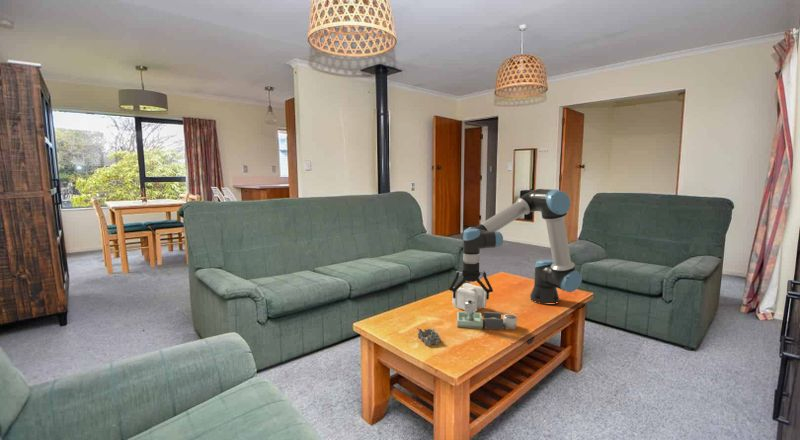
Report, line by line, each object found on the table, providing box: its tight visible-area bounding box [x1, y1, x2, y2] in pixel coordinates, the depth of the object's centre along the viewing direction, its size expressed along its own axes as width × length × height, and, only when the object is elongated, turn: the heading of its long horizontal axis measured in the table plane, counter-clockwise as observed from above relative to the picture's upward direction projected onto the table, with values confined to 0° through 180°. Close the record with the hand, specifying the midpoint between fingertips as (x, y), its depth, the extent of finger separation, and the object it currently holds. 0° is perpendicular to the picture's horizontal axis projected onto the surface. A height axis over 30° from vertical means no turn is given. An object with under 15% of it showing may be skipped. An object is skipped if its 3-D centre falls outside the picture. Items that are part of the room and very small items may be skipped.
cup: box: [502, 313, 518, 330], centre depth 171 cm, size 6×6×5 cm
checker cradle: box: [483, 311, 504, 330], centre depth 173 cm, size 8×9×5 cm
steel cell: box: [464, 300, 475, 321], centre depth 175 cm, size 5×5×10 cm
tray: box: [456, 311, 484, 330], centre depth 176 cm, size 12×12×3 cm
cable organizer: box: [451, 282, 486, 313], centre depth 194 cm, size 15×11×12 cm
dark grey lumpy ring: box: [416, 327, 441, 347], centre depth 158 cm, size 11×8×4 cm
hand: (470, 305), depth 175 cm, fingers open, 13 cm apart
